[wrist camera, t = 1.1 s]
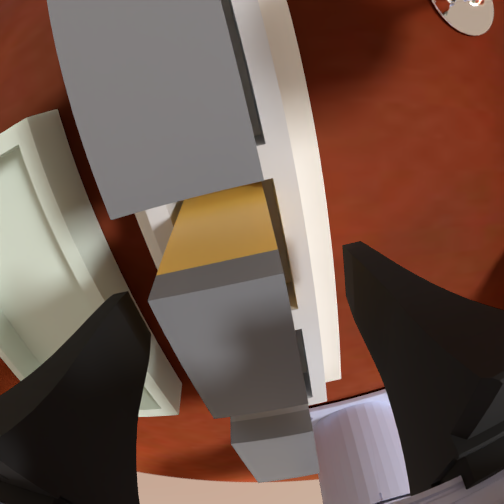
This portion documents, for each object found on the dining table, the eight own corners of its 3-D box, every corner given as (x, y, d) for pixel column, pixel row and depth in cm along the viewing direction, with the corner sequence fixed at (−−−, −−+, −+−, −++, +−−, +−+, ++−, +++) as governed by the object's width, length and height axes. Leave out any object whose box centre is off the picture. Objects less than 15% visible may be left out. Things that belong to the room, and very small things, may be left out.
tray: (182, 383, 20) (178, 414, 18) (62, 390, 21) (53, 415, 18) (57, 108, 11) (26, 117, 9) (-61, 186, 12) (-87, 203, 10)
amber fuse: (281, 277, 15) (308, 403, 9) (219, 290, 15) (214, 418, 9) (259, 174, 13) (283, 273, 7) (186, 192, 13) (147, 300, 7)
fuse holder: (339, 371, 20) (348, 402, 18) (221, 394, 21) (221, 425, 18) (271, -41, 9) (279, -66, 6) (81, 15, 9) (51, 6, 7)
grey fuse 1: (248, 127, 12) (263, 180, 6) (173, 146, 12) (111, 219, 6) (218, 6, 9) (200, -73, 3) (140, 29, 9) (45, -11, 3)
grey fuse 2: (300, 369, 19) (319, 472, 13) (251, 378, 19) (258, 482, 13) (288, 308, 16) (313, 431, 10) (230, 320, 16) (230, 443, 10)
